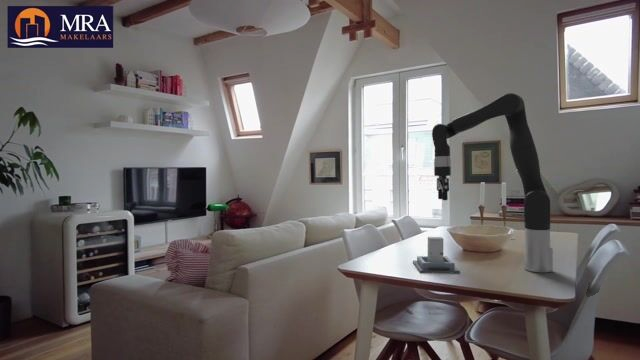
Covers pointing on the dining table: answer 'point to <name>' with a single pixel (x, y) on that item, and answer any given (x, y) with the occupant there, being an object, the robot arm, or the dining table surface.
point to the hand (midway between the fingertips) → (442, 199)
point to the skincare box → (435, 249)
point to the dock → (435, 265)
